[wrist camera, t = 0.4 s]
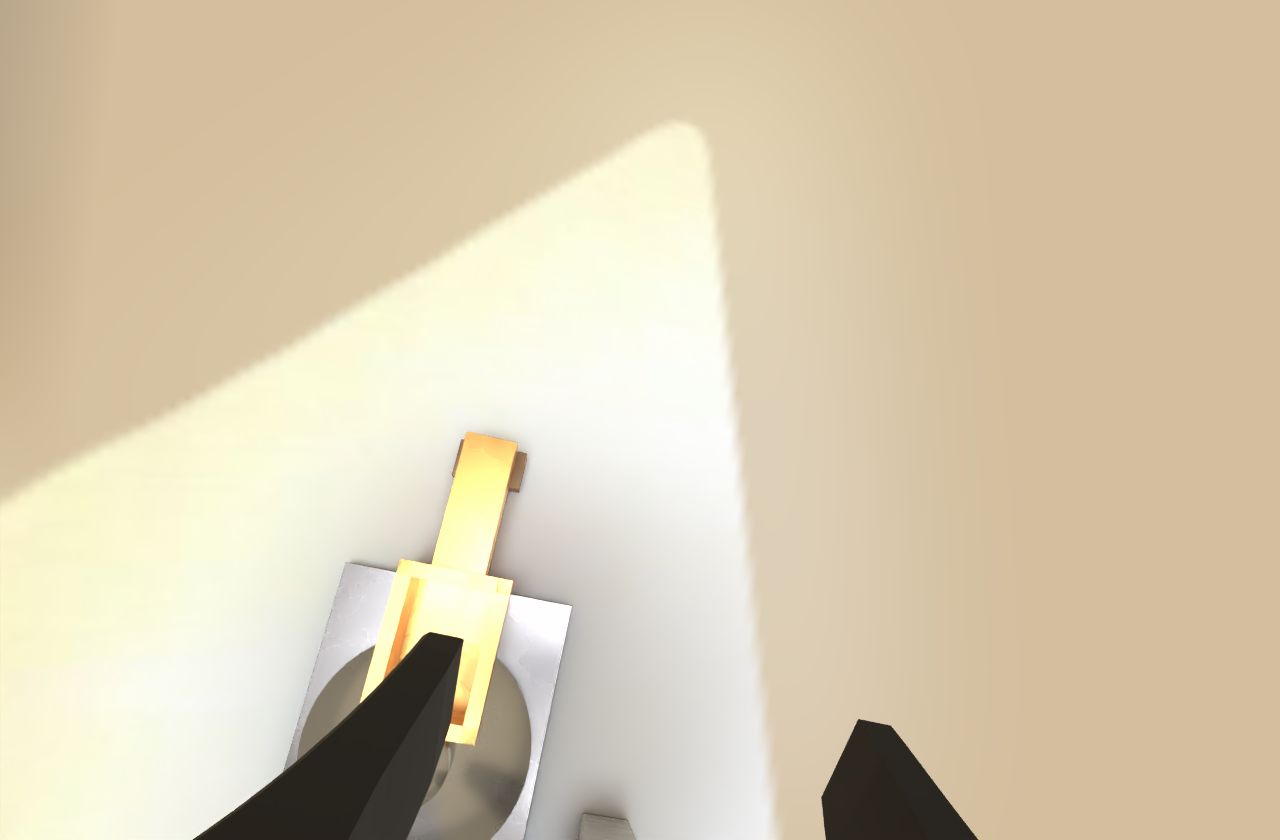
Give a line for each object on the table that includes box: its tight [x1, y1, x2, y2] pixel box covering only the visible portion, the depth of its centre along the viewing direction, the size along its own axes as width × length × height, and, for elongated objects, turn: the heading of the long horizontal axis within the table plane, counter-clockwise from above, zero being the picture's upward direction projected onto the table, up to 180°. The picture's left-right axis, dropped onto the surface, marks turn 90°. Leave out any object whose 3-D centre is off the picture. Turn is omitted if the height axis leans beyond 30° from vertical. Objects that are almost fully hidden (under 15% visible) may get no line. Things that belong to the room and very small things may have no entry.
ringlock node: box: [283, 432, 572, 840], centre depth 33 cm, size 22×12×5 cm, turn 169°
